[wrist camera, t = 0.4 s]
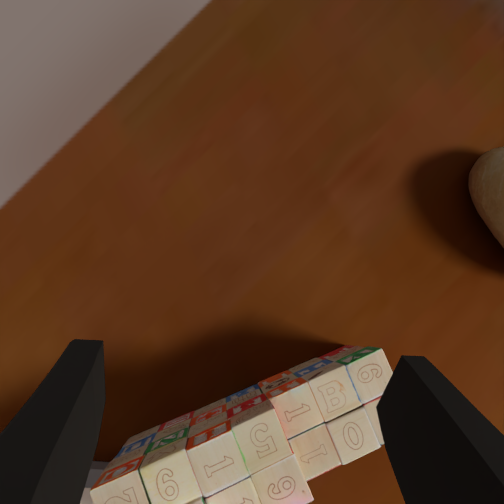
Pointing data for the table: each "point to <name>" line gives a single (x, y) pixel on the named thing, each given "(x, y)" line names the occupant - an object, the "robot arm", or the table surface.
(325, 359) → the stack of blocks
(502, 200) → the bread roll
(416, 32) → the table surface
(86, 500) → the base plate
